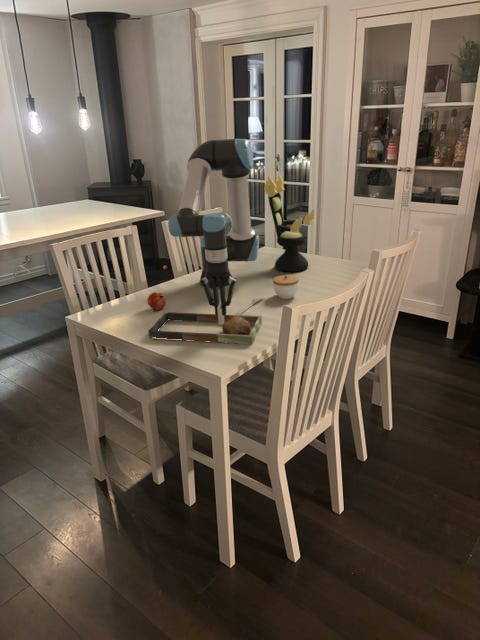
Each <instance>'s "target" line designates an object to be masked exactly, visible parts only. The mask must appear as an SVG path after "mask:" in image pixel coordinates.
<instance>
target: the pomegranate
mask: <svg viewBox="0 0 480 640" xmlns="http://www.w3.org/2000/svg"><path fill="white" fill-rule="evenodd" d="M146 300H147V304H148V306H149V307H150V308H151V309H152V310H153V311H159V310H161V309H163V308H165V306H166V305H167V300H166V298H165V296H164V295H163V294H162V293H161V292H153V293H151V294H149V295H148V296H147V299H146Z"/></svg>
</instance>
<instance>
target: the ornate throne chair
mask: <svg viewBox="0 0 480 640" xmlns="http://www.w3.org/2000/svg"><path fill="white" fill-rule="evenodd" d="M282 178H283V177H282V175H280V174H278V176H277V179H276V181H275V182H274V181H273V179H272V178H271V176H270V174H269V175H268V176H267V180H266V179H265V185H264V188H263V190H264V192H265V194H266V195H268V204H269V208H270V211H271V214H272V219H273V223H274V224H273V225H274V227H275V233H276V237H277V238H276V243H277V244H278V245H279V246H280V247H284V248H285V250H284V252H283V253H282V254H281V255H280V256H279V257H277V259H276V260H275V262H274V268H275V269H276V270H277V271H279V272H284V273H285V272H287V273H293V272H300V271H304V270H306V269H307V268H308V267H309V261H308V260H307V258H306V257H305V256H304V255H302V253H300V252H299V250H298V247H301V246H303V245H304V244H305V242H306V237H305V235H303V233H301V232H300V228H301V227H302V226H303V225H306V226H311V225H312V220H314V217H315V209H312V210H311V211H310V212H307V214H306V215H305V218H304V219H303V217H302V216H301V215H300V217H298V219H293V220H292V219H291V220H290V219H289V220H287V219H286V220H284V213H283V208H282V206H283V205H282V196H281V193H282V192H283V191H284V190H286V189H285V188H284V183H285V182H284V180H283V179H282Z"/></svg>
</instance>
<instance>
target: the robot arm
mask: <svg viewBox="0 0 480 640" xmlns="http://www.w3.org/2000/svg"><path fill="white" fill-rule="evenodd" d="M253 154H254V153H253V149H252V146H251V144H250V142H249V140H248V139H246V138H229V139H225V138H224V139H210V140H206V141H205V142H202V143H201V144H199V146H197V148H195V149H194V150H193V152H192V153H191V154H190V156H189V159H188V161H187V165H186V170H187V171H188V172H187V176H186V179H185V184H184V188H183V192H182V196H181V199H180V204H179V207H178V212H177V214H174V215H171V216H170V217H169V219H168V232H169V234H170V236H172V237H178V238H187V237H188V238H189V237H192V238H195V237H201V238H200V251H201V253H200V254H201V262H202V270H201V275H200V280H199V284H200V285H201V286H202V287H203V289H204V293H205V296H206V299H207V302H208V305H209V306H212V307H214V314H215V315H218V322H217V324H218V326H223V324H224V315H227V307H229V306H230V305H231V303H232V299H233V293H234V287H235V285H236V282H237V278H233V276H232V273H231V271H230V268H229V262H254V261H257V258H258V254H259V246H260V235H258V234H256V230H255V229H254V228H252V222H251V221H252V219H251V208H250V198H249V186H248V176H249V175H250V174H251V171H252V170H253V169H254V155H253ZM212 171H214V172H215V171H219V172H220V171H221V176H222V177H223V179H225V181H226V189H227V200H228V207H229V214H228V213H227V212H221V211H220V212H214V213H213V212H211V213H206V214H200V210H201V208H202V202H203V197H204V192H205V188H206V183H207V179H208V177H209V176H211V173H212ZM227 286H229V287H228V291H227V293H226V287H227ZM211 288H212V290H211ZM226 294H227V296H226ZM219 296H220V298H219Z"/></svg>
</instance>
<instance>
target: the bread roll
mask: <svg viewBox="0 0 480 640" xmlns="http://www.w3.org/2000/svg"><path fill="white" fill-rule="evenodd" d="M221 330H222V334H233V335H250V333H251V331H252V328H251V324H249V322H248V321H246V320H245V319H244V318H242V317H239V316H233V317H230V318H229V319H228V320H226V322H225V323H223V325H222V327H221Z"/></svg>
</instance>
